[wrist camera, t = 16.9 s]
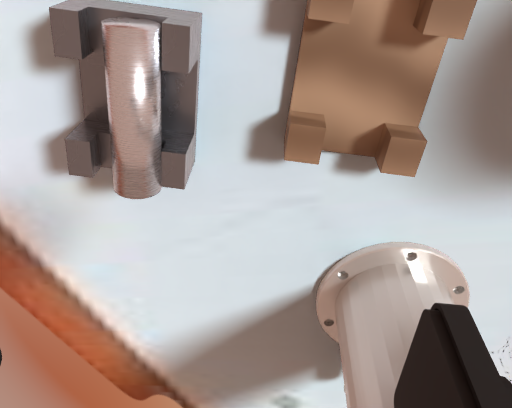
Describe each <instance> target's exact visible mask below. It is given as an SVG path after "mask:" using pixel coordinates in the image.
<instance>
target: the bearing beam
mask: <svg viewBox="0 0 512 408" xmlns="http://www.w3.org/2000/svg"><path fill="white" fill-rule="evenodd" d="M476 2H477V0H307V5H306V11H305V17H304V23H303V30H302V36H301V42H300V48H299V54H298V60H297V66H296V72H295V78H294V84H293V90H292V96H291V102H290V108H289V114H288V120H287V126H286V132H285V138H284V160H288V161H295V162H303V163H311V164H319V160H320V155H321V150H324V151H332V152H339V153H347V154H355V155H362V156H370V157H375V159H376V162H377V164H378V167H379V170H380V172H381V173H388V174H395V175H403V176H411V177H415V174H416V172H417V169H418V166H419V163H420V160H421V158H422V155H423V152H424V149H425V146H426V143H427V140H426V139H425V137H424V136H423V134H422V132H421V131H420V129H419V128H418V126H419V123H420V120H421V117H422V114H423V111H424V108H425V105H426V102H427V99H428V96H429V93H430V90H431V87H432V84H433V81H434V78H435V75H436V72H437V69H438V67H439V64H440V61H441V58H442V55H443V52H444V49H445V46H446V43H447V40H448V38H455V39H462V40H463V39H464V36H465V33H466V30H467V27H468V25H469V22H470V19H471V16H472V13H473V10H474V8H475V5H476Z"/></svg>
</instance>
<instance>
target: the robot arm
mask: <svg viewBox="0 0 512 408" xmlns="http://www.w3.org/2000/svg"><path fill="white" fill-rule="evenodd" d="M410 252H411V253H410ZM342 271H343V272H342ZM469 297H470V293H469V287H468V283H467V281H466V279H465V276H464V274H463V272H462V271H461V269H460V268H459V266H458V265H457V264H456V263H455V262H454V261H453V260H452V259H451V258H450V257H449V256H447V255H446V254H444V253H442V252H441V251H439V250H437V249H434V248H432V247H429V246H426V245H423V244H417V243H411V242H388V243H381V244H376V245H372V246H368V247H365V248H362V249H360V250H358V251H355V252H353V253H351V254H349V255H347V256H346V257H344V258H343V259H341V260H340V261H338V262H337V263H336V264H335V265H334V266H333V267H332V268H331V269H330V270H329V271H328V272H327V273H326V275H325V276H324V278H323V279H322V281H321V283H320V285H319V288H318V290H317V296H316V310H317V315H318V319H319V322H320V324H321V326H322V327H323V329H324V331H325V332H326V333H327V334H328V335H329V336H330V337H331V338H332V339H333V340H335V341H336V342H337V343H339V347H340V354H341V362H342V370H343V378H344V392H345V393H346V401H347V408H512V384H511V382H510V381H509V380H508V379H506V378H505V377H503V376H500V375H499V373H498V371H497V369H496V367H495V365H494V362H493V360H492V358H491V356H490V354H489V352H488V350H487V348H486V345H485V343H484V341H483V339H482V337H481V335H480V333H479V331H478V328H477V326H476V324H475V322H474V320H473V318H472V316H471V314H470V311H469V310H468V305H469ZM1 361H2V355H1V350H0V365H1Z"/></svg>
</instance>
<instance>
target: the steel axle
mask: <svg viewBox="0 0 512 408" xmlns="http://www.w3.org/2000/svg"><path fill="white" fill-rule="evenodd" d="M101 24H102V38H103V51H104V65H105V78H106V92H107V105H108V119H109V132H110V145H111V159H112V172H113V186H114V191H115V192H116V193H117V194H118V195H120V196H122V197H125V198H130V199H144V198H149V197H152V196H154V195H156V194H157V193H159V192H160V190H161V188H162V186H161V25H160V24H159V23H157V22H155V21H152V20H148V19H142V18H134V17H113V18H107V19H104V20H102V21H101Z"/></svg>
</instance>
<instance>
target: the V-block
mask: <svg viewBox="0 0 512 408" xmlns="http://www.w3.org/2000/svg"><path fill="white" fill-rule="evenodd" d="M49 12H50V20H51V28H52V36H53V44H54V53H55V56H58V57H66V58H73V59H79V65H80V75H81V86H82V97H83V107H84V118H85V119H84V120H83V121H82V122H81V123H80V124H79V125H78V126H77V127H76V128H75V129H74V130H73V131H72V132H71V133H70V134H69V135H68V136H67V137H66V138H65V143H66V151H67V159H68V168H69V175H77V176H84V177H92V178H93V177H94V175H95V174H96V172H97V171H98V170H99V168H100V167H107V168H112V159H111V145H110V132H109V119H108V105H107V92H106V78H105V65H104V51H103V38H102V24H101V21H102V20H104V19H107V18H113V17H134V18H142V19H148V20H152V21H155V22H157V23H159V24H160V25H161V186H162V187H170V188H178V189H185V186H186V183H187V181H188V178H189V175H190V173H191V170H192V167H193V164H194V162H195V146H196V126H197V106H198V86H199V65H200V45H201V25H202V13H199V12H191V11H184V10H177V9H169V8H162V7H154V6H147V5H140V4H132V3H125V2H118V1H110V0H67V1H65V2H62V3H59V4H57V5H54V6H52V7H49Z"/></svg>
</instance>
